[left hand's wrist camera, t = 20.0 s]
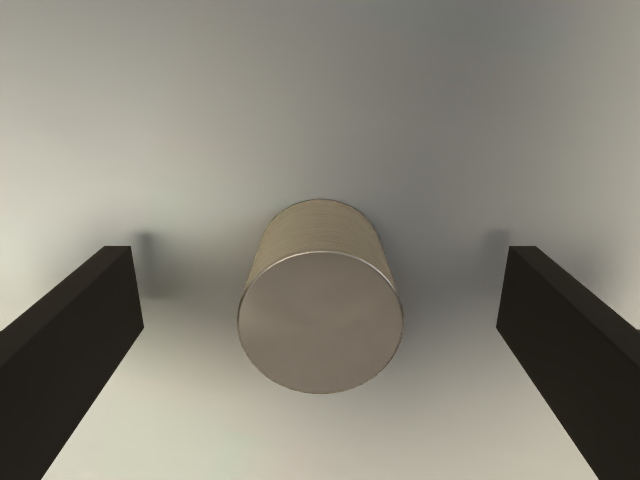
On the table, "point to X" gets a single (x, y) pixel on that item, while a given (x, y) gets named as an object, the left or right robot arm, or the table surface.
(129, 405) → the table surface
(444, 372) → the table surface
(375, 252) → the tin
